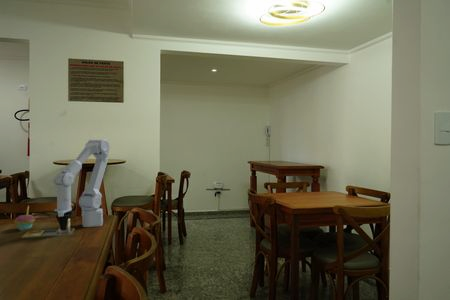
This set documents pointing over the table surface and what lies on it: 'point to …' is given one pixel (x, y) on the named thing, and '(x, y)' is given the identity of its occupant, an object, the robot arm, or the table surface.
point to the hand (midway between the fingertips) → (64, 228)
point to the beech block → (66, 228)
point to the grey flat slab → (45, 233)
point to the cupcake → (24, 221)
